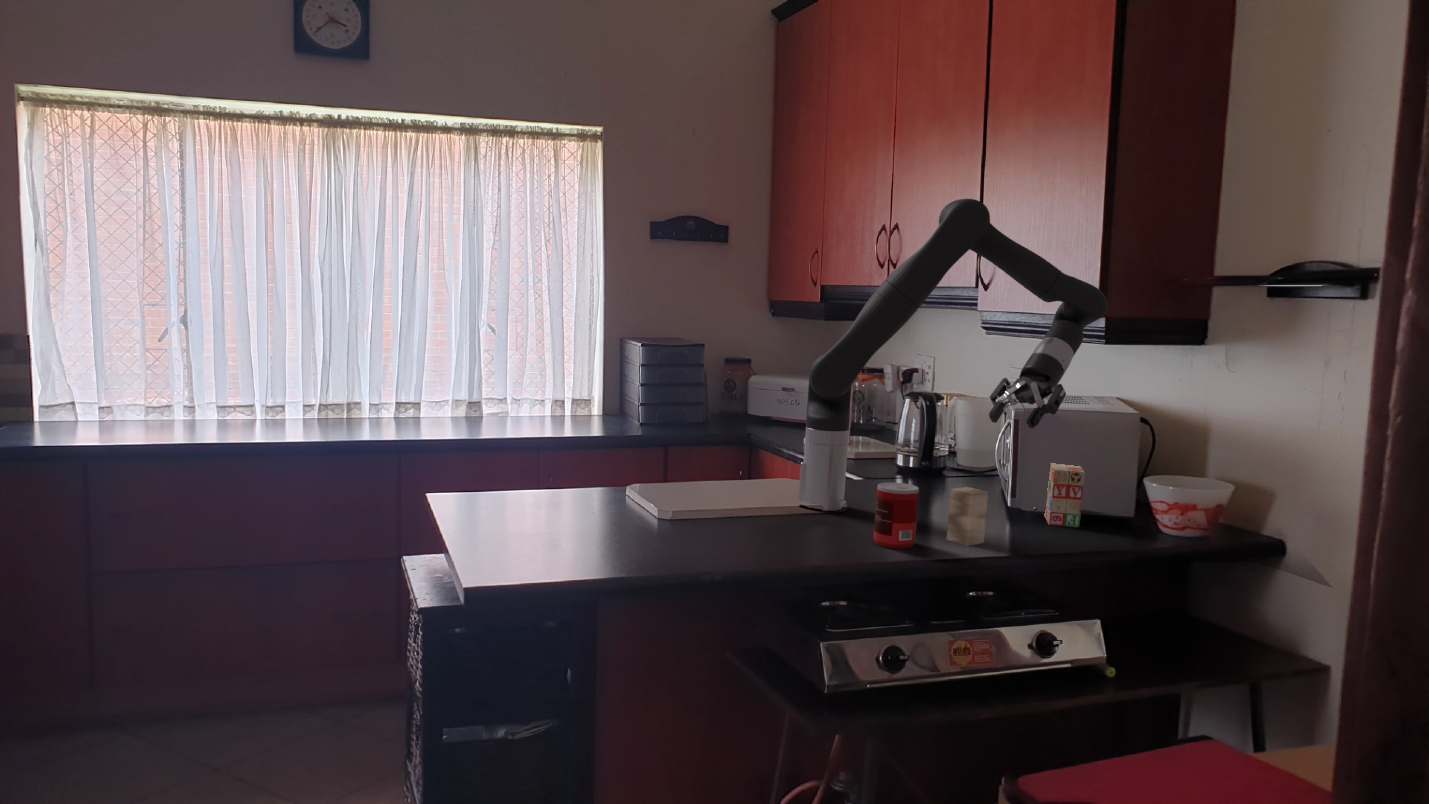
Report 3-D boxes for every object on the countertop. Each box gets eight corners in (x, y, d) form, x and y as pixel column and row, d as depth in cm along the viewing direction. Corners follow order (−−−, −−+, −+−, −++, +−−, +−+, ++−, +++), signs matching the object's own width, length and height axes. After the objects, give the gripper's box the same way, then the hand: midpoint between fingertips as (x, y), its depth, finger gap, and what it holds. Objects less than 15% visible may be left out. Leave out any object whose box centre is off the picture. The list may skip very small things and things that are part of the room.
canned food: (919, 542, 189) (923, 485, 187) (908, 551, 181) (913, 492, 180) (879, 536, 192) (884, 480, 191) (868, 545, 185) (872, 486, 183)
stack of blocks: (1036, 505, 231) (1041, 453, 230) (1064, 507, 230) (1069, 455, 229) (1049, 525, 210) (1054, 468, 209) (1079, 528, 209) (1085, 470, 208)
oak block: (946, 539, 192) (950, 488, 191) (962, 536, 195) (966, 486, 194) (968, 545, 188) (972, 493, 187) (983, 542, 192) (988, 491, 190)
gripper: (1010, 348, 206) (973, 405, 200) (1073, 354, 195) (1035, 414, 189) (1023, 373, 210) (987, 430, 204) (1085, 380, 199) (1048, 440, 193)
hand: (1010, 422), depth 197 cm, fingers open, 8 cm apart
